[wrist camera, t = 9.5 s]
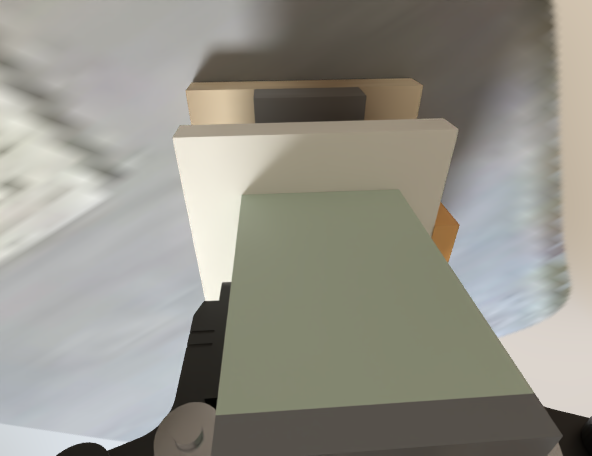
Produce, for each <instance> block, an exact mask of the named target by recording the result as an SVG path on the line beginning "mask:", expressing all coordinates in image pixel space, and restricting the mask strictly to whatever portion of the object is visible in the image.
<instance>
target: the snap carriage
mask: <svg viewBox="0 0 592 456" xmlns="http://www.w3.org/2000/svg"><path fill="white" fill-rule="evenodd" d="M458 131H459V129H458V128H456V127H455V126H454V125H452V124H451V123H449V122H448V121H447V120H445V119H444V118H435V119H398V120H361V121H323V122H286V123H249V124H212V125H180V126H179V128H178V129H177V131H176V133H175V134H174V136H173V143H174V148H175V153H176V158H177V163H178V168H179V173H180V178H181V183H182V187H183V192H184V197H185V202H186V207H187V212H188V217H189V222H190V227H191V232H192V237H193V242H194V246H195V251H196V256H197V261H198V266H199V271H200V276H201V281H202V286H203V291H204V296H205V301H216V300H219V297H220V291H221V285H222V282H231V281H232V272H233V264H234V256H235V247H236V239H237V230H238V222H239V213H240V205H241V197H242V195H248V194H277V193H307V192H336V191H366V190H395V189H399V190H400V192H401V193H402V195H403V196H404V198H405V199H406V201H407V202H408V204H409V205H410V207H411V208H412V210H413V211H414V213H415V214H416V216H417V217H418V219H419V220H420V222H421V223H422V225H423V226H424V228H425V229H426V231H427V232H428V234H429V235H430V237H431V238H432V240H433V241H434V243H435V244H436V246H437V247H438V249H439V250H440V252H441V253H442V255H443V256H444V258H445V259H446V261H447V262H449V258H450V255H451V252H452V248H453V245H454V242H455V239H456V235H457V232H458V229H459V224H458V222H457V221H456V220H455V219H454V218H453V216H452V215H451V214H450V213H449V212H448V210H447V209H446V208H445V207H444V205H443V204H442V203H441V198H442V194H443V190H444V186H445V182H446V178H447V174H448V171H449V167H450V163H451V159H452V155H453V151H454V147H455V143H456V139H457V135H458Z"/></svg>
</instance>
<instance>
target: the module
mask: <svg viewBox="0 0 592 456" xmlns="http://www.w3.org/2000/svg"><path fill="white" fill-rule="evenodd" d="M562 437H563V435H562V434H561V432H560V431H559V429H558V428H557V426H556V425H555V423H554V422H553V420H552V419H551V417H550V416H549V414H548V413H547V411H546V410H545V408H544V407H543V405H542V404H541V402H540V401H539V399H538V398H537V396H536V395H535V393H534V392H533V390H532V389H531V387H530V386H529V384H528V383H527V381H526V380H525V378H524V377H523V375H522V374H521V372H520V371H519V369H518V368H517V366H516V365H515V363H514V362H513V360H512V359H511V357H510V356H509V354H508V353H507V351H506V350H505V348H504V347H503V345H502V344H501V342H500V341H499V339H498V338H497V336H496V335H495V333H494V332H493V330H492V329H491V327H490V326H489V324H488V323H487V321H486V320H485V318H484V317H483V315H482V314H481V312H480V311H479V309H478V308H477V306H476V305H475V303H474V302H473V300H472V299H471V297H470V296H469V294H468V292H467V291H466V289H465V288H464V286H463V285H462V283H461V282H460V280H459V279H458V277H457V276H456V274H455V273H454V271H453V270H452V268H451V267H450V265H449V264H448V262H447V261H446V259H445V258H444V256H443V255H442V253H441V252H440V250H439V249H438V247H437V246H436V244H435V243H434V241H433V240H432V238H431V237H430V235H429V234H428V232H427V231H426V229H425V228H424V226H423V225H422V223H421V222H420V220H419V219H418V217H417V216H416V214H415V213H414V211H413V210H412V208H411V207H410V205H409V204H408V202H407V201H406V199H405V198H404V196H403V195H402V193H401V192H400V190H399V189H395V190H366V191H336V192H307V193H277V194H248V195H242V197H241V205H240V213H239V222H238V230H237V239H236V247H235V256H234V264H233V272H232V281H231V289H230V298H229V306H228V315H227V323H226V331H225V340H224V348H223V357H222V365H221V374H220V382H219V390H218V399H217V407H216V416H215V424H214V433H213V441H212V449H211V456H547V455H548V454H549V453H550V451H551V450H552V449H553V448H554V447H555V445H556V444H557V443H558V442H559V440H560V439H561V438H562Z"/></svg>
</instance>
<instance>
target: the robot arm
mask: <svg viewBox="0 0 592 456" xmlns="http://www.w3.org/2000/svg"><path fill="white" fill-rule="evenodd" d="M230 289H231V282H222V285H221V291H220V297H219V300H216V301H204V302H203V303H202V305H201V306H200V307H199V309H198V310H197V311H196V313H195V314H194V316H193V321H192V325H191V330H190V334H189V339H188V343H187V348H186V352H185V357H184V361H183V366H182V370H181V375H180V379H179V384H178V388H177V393H176V397H175V401H174V404H173V407H172V409H171V411H170V412H169V414H168V415H167V416H166V417H165V418H164V419H163V421H162V422H161V423H160V425H159V426H158V427H156V428H155V429H154V430H153V431H151V432H150V433H148V434H146V435H145V436H142V437H140V438H138V439H136V440H133V441H131V442H128V443H126V444H123V445H121V446H118V447H116V448H114V449H111V450H108V451H106V449H105V448H104V447H102V446H101V445H99V444H96V443H90V442H89V443H81V444H77V445H74V446H71V447H69V448H67V449H65V450H64V451H62V452H61V453H59V454H58V455H56V456H211V449H212V441H213V433H214V424H215V416H216V407H217V399H218V390H219V382H220V374H221V365H222V357H223V348H224V340H225V331H226V323H227V315H228V306H229V298H230ZM543 407H544V406H543ZM544 408H545V410H546V411H547V413H548V414H549V416H550V417H551V419H552V420H553V422H554V423H555V425H556V426H557V428H558V429H559V431H560V432H561V434H562V435H563V437H562V438H561V439H560V440H559V442H558V443H557V444H556V445H555V447H554V448H553V449H552V450H551V451H550V453H549V454H548V455H547V456H592V416H591V417H590V418H587V417H583V416H579V415H575V414H570V413H566V412H562V411H558V410H554V409H550V408H547V407H544Z"/></svg>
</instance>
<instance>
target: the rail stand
mask: <svg viewBox="0 0 592 456" xmlns="http://www.w3.org/2000/svg"><path fill="white" fill-rule="evenodd" d="M422 89H423V85H421V84H420V83H418V82H417V81H415V80H413V79H412V78H396V79H346V80H296V81H246V82H196V83H191V84H190V85H189V87H188V88H187V89H186V96H187V102H188V108H189V114H190V120H191V125H212V124H249V123H286V122H323V121H361V120H398V119H417V116H418V111H419V105H420V100H421V95H422Z"/></svg>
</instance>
